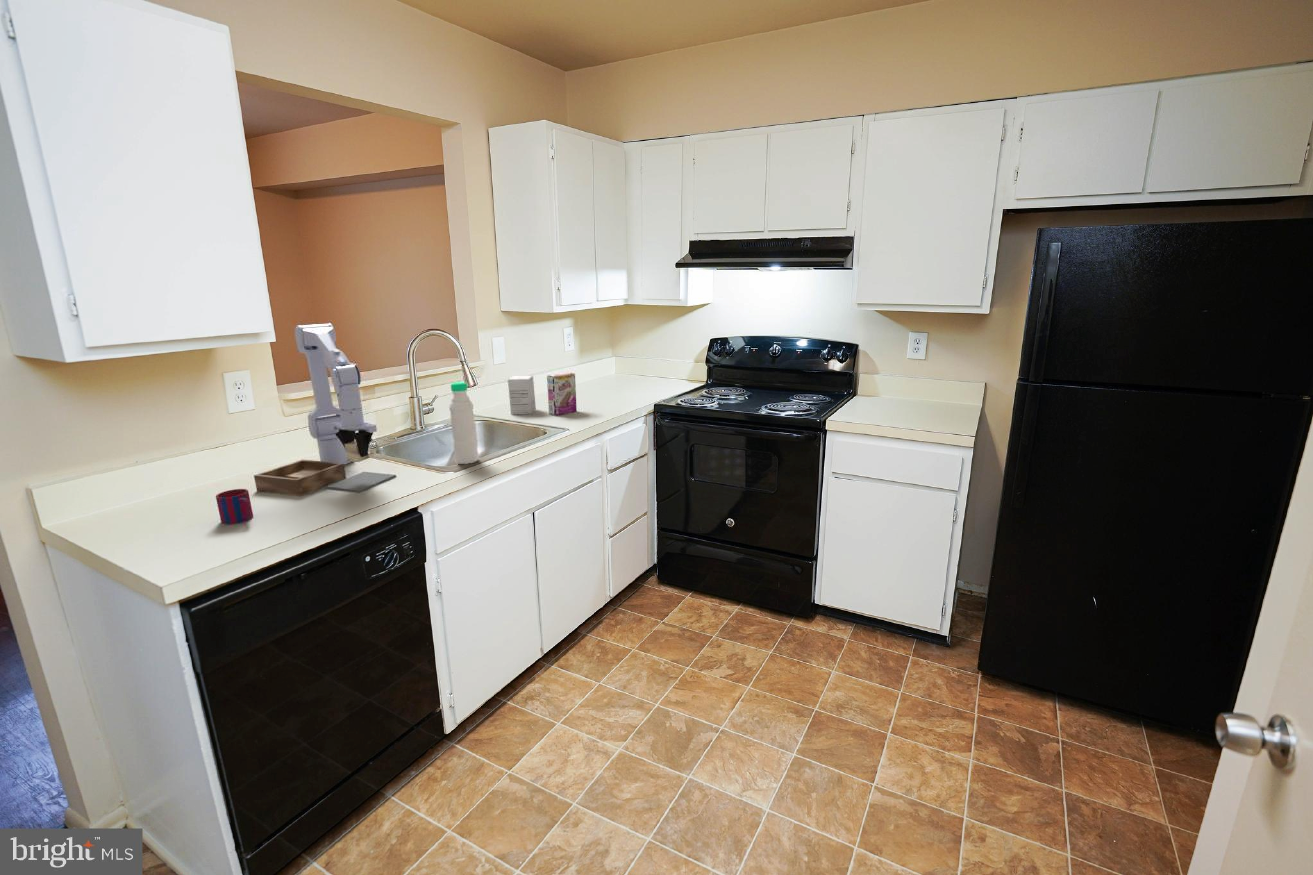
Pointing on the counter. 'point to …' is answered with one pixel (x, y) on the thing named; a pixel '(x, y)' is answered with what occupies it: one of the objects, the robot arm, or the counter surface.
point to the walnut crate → (300, 477)
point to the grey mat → (361, 481)
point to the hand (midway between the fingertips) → (357, 455)
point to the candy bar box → (561, 393)
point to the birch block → (354, 452)
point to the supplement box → (521, 395)
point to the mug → (234, 506)
